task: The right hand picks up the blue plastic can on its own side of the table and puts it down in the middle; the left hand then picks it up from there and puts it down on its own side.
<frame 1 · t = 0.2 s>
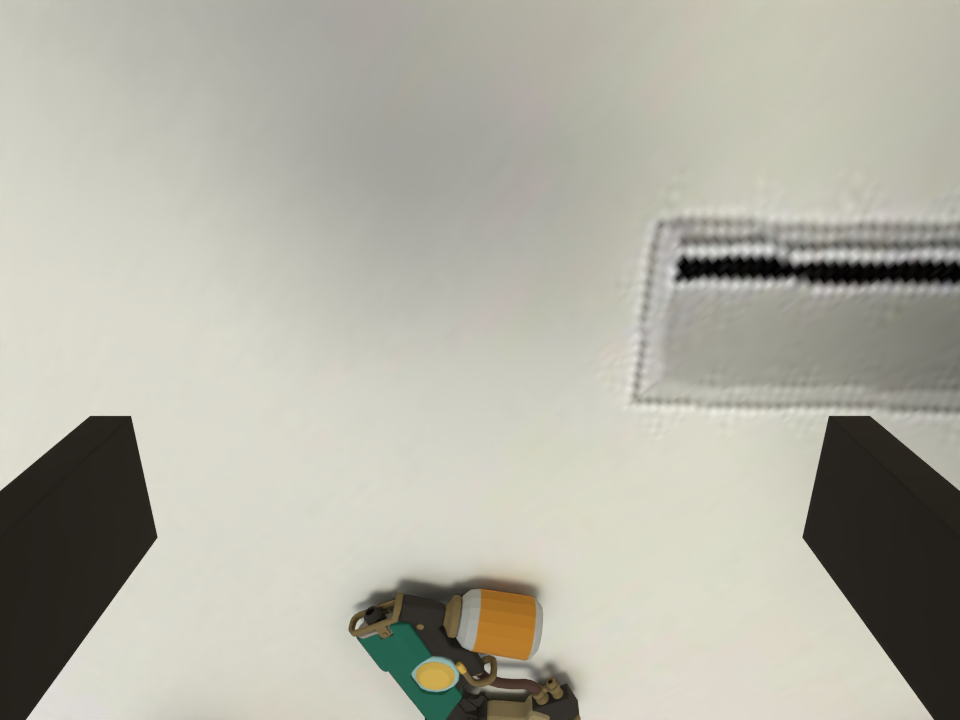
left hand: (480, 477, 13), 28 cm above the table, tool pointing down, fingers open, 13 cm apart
spray gun: (470, 655, 51), on the table
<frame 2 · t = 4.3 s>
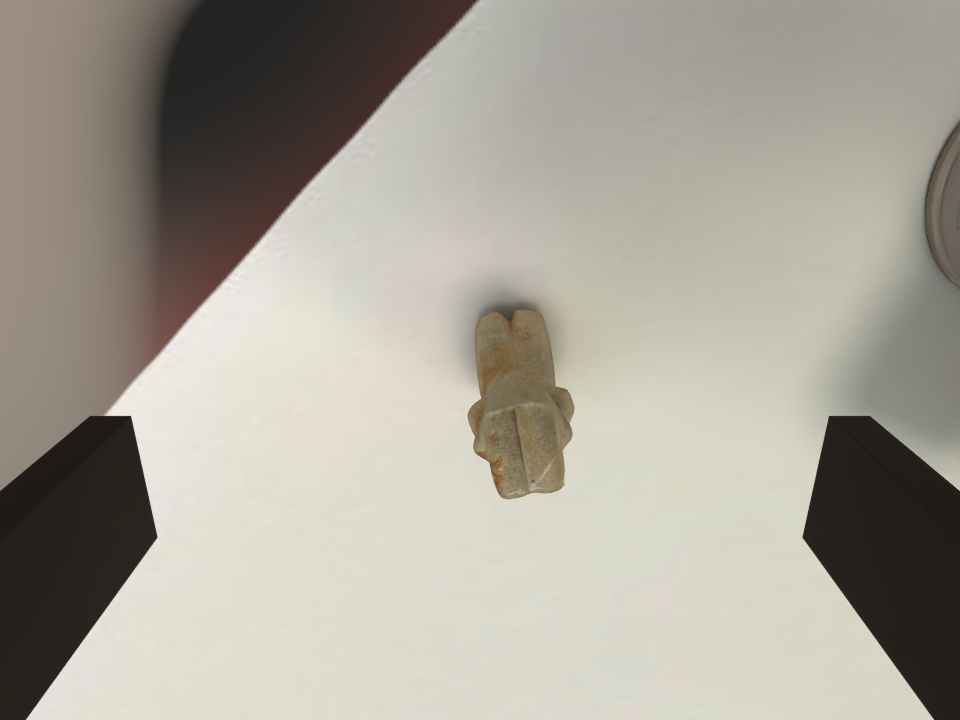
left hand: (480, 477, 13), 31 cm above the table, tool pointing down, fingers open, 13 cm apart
sculpture: (513, 354, 45), on the table
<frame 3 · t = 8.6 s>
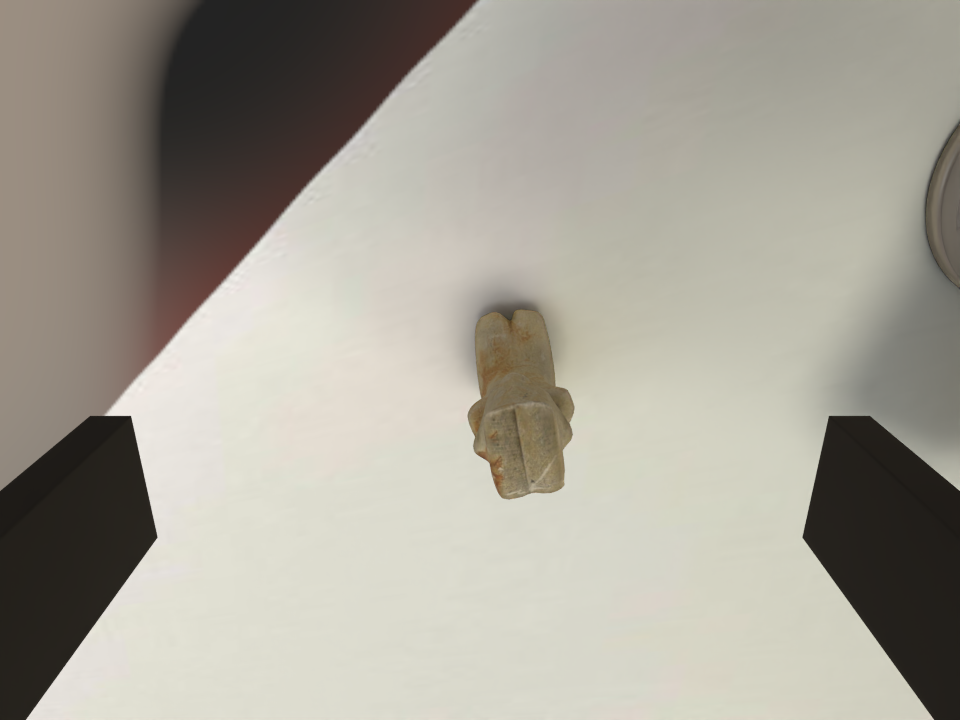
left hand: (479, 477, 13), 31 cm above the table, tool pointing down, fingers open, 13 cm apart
sculpture: (513, 354, 45), on the table
when the right hand's fingers open (5 cm above the table, at t = 12.9 s): can drops 1 cm, on the table.
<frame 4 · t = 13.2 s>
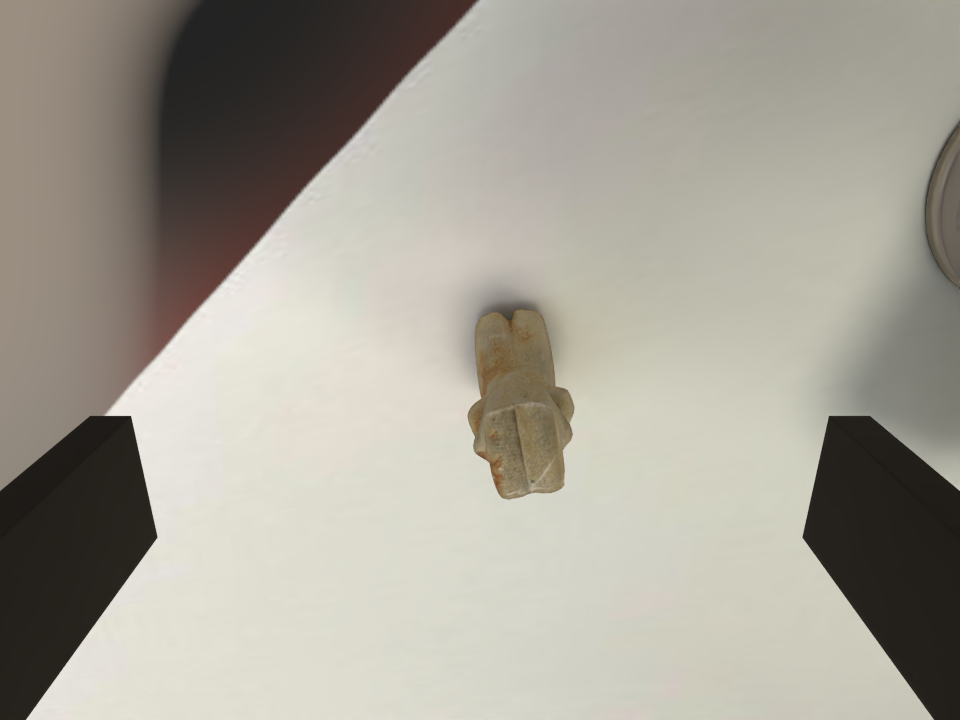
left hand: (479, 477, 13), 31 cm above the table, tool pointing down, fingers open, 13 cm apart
sculpture: (513, 354, 45), on the table
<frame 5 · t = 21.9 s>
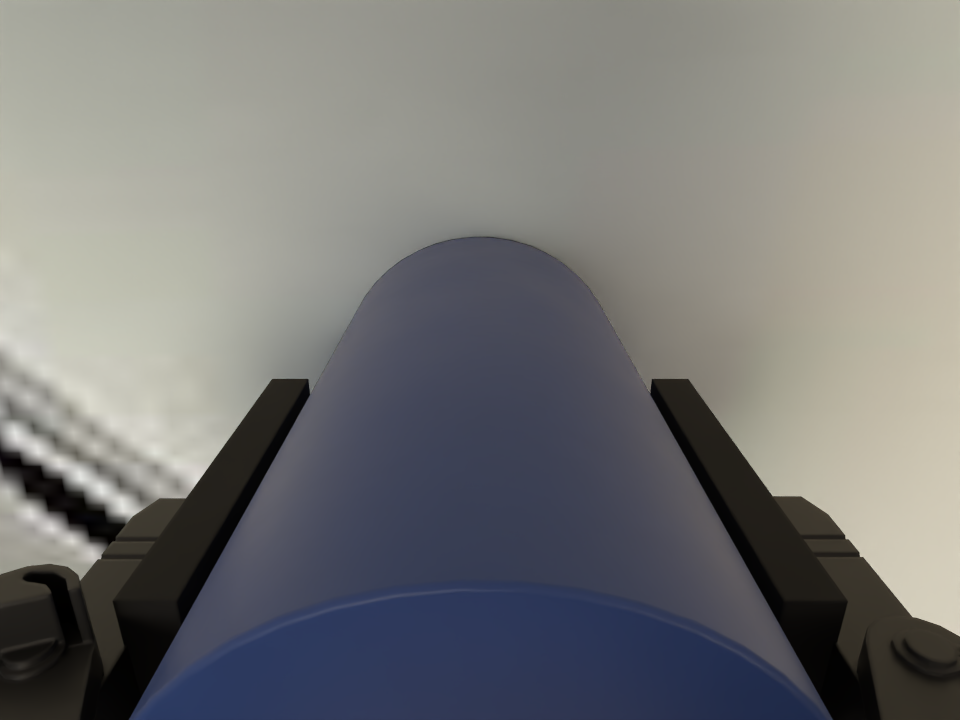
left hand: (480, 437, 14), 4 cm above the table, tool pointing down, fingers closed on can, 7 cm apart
can: (479, 369, 18), on the table, touching left hand
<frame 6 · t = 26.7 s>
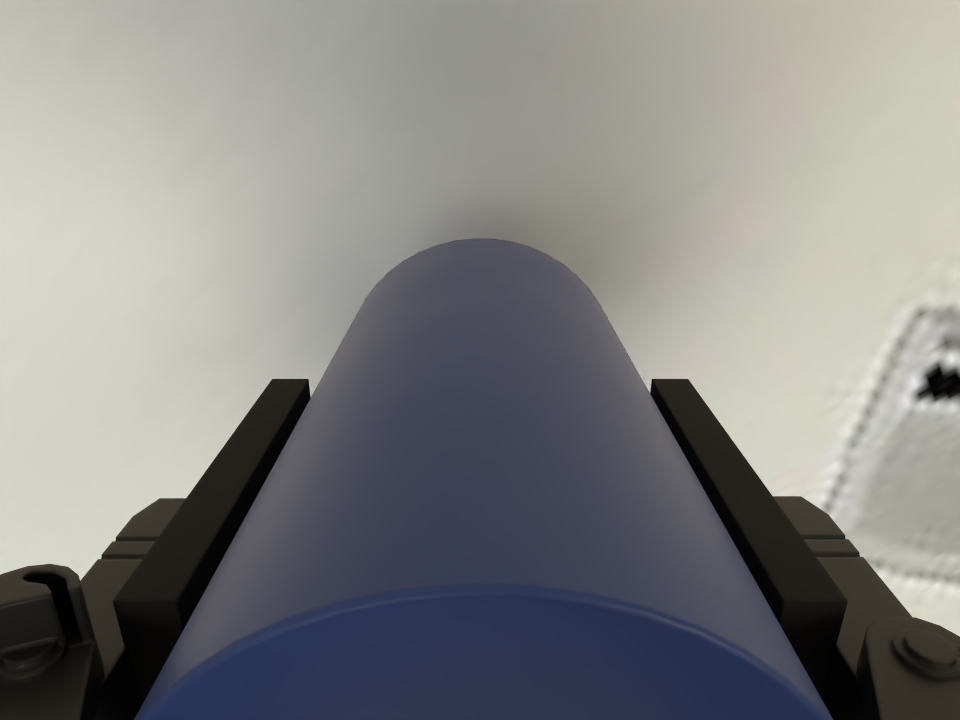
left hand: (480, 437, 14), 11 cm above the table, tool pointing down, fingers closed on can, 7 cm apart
can: (480, 370, 18), point 8 cm above the table, touching left hand
when the left hand's fingers open (5 cm above the table, at t = 31.5 s): can drops 1 cm, on the table.
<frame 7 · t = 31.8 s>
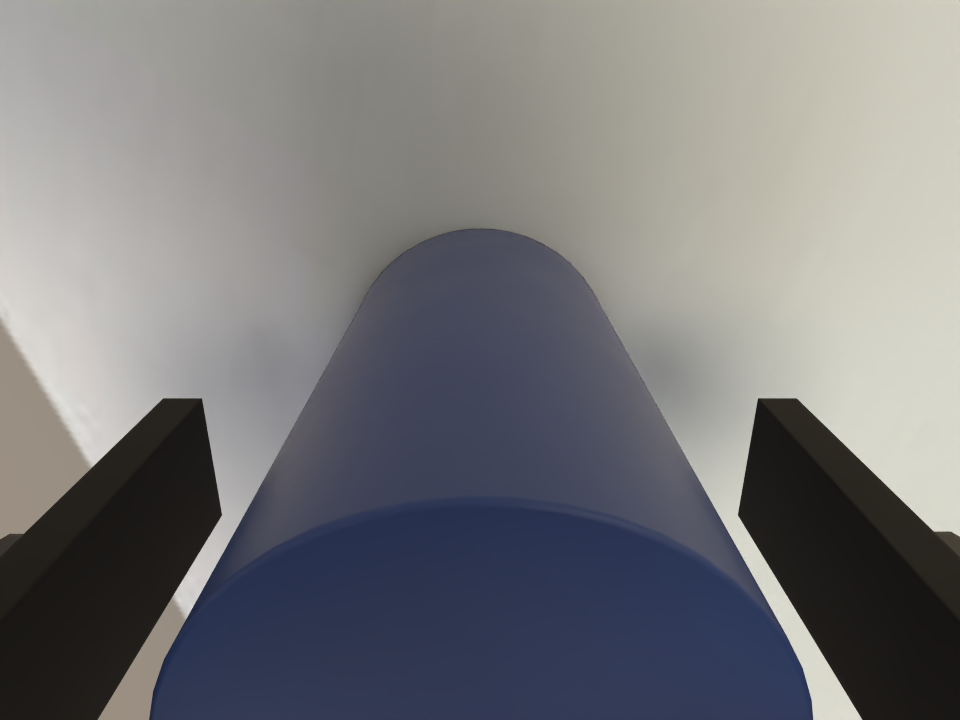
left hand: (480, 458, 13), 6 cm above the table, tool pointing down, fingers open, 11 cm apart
can: (480, 354, 19), on the table
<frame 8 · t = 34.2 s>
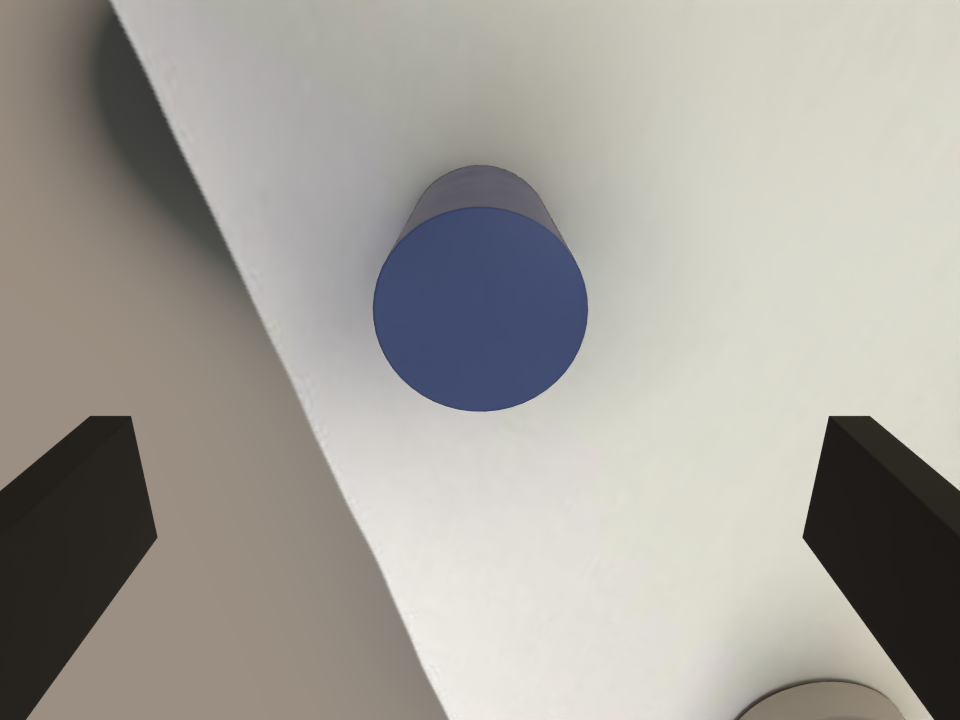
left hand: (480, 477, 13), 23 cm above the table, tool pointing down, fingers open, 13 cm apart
bust sculpture: (797, 708, 46), on the table
can: (480, 238, 34), on the table
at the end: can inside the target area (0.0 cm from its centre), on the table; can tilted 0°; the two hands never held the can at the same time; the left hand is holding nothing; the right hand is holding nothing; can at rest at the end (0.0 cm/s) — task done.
